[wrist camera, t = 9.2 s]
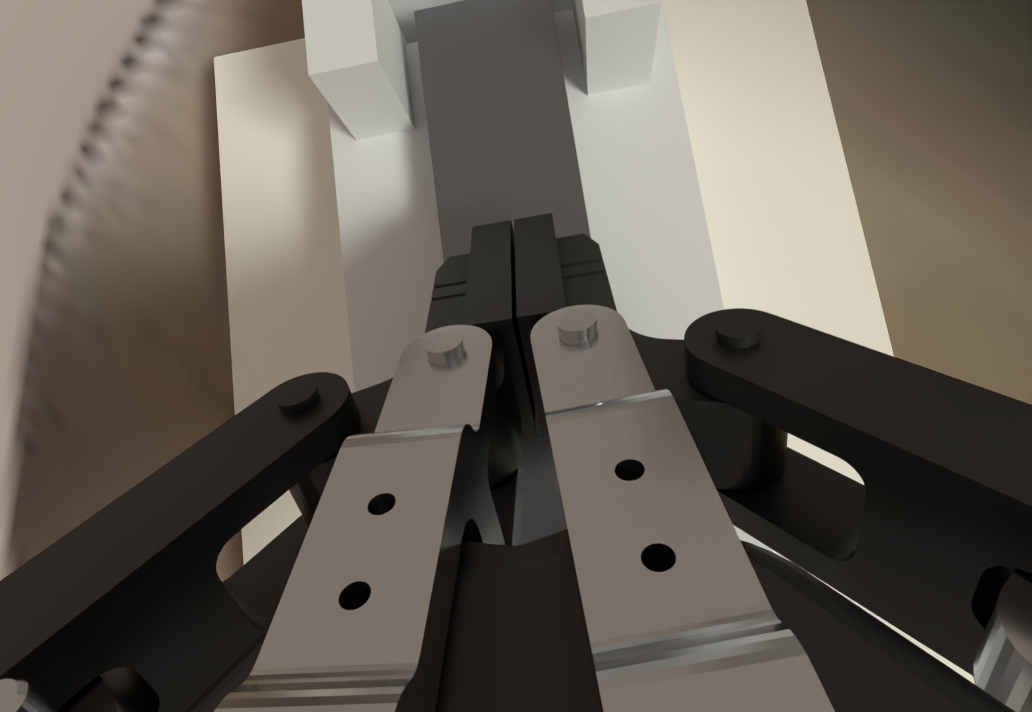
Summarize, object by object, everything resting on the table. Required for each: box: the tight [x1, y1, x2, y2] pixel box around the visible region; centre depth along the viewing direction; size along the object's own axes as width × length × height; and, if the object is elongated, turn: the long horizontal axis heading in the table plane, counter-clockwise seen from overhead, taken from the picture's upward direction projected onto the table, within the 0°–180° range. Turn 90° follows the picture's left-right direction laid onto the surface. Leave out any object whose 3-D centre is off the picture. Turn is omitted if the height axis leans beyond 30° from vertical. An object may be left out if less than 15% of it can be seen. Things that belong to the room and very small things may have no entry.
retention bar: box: [414, 0, 591, 545], centre depth 13 cm, size 3×19×1 cm, turn 8°
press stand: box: [214, 0, 975, 684], centre depth 14 cm, size 16×25×7 cm, turn 8°
